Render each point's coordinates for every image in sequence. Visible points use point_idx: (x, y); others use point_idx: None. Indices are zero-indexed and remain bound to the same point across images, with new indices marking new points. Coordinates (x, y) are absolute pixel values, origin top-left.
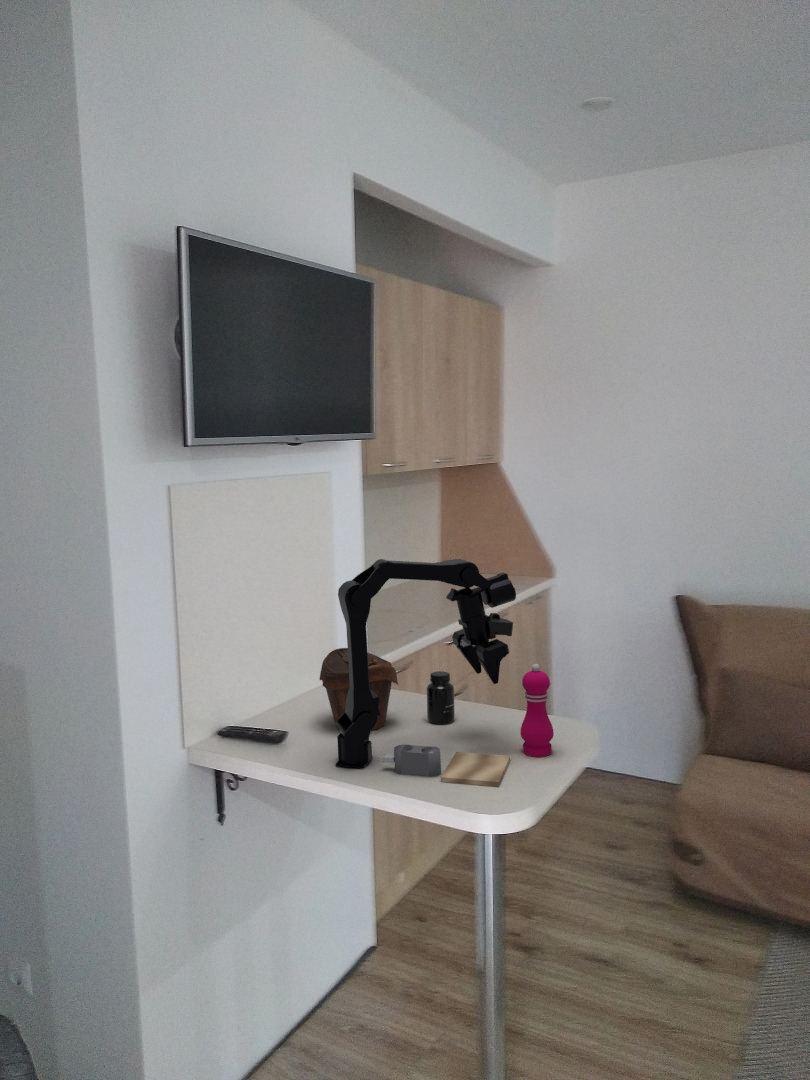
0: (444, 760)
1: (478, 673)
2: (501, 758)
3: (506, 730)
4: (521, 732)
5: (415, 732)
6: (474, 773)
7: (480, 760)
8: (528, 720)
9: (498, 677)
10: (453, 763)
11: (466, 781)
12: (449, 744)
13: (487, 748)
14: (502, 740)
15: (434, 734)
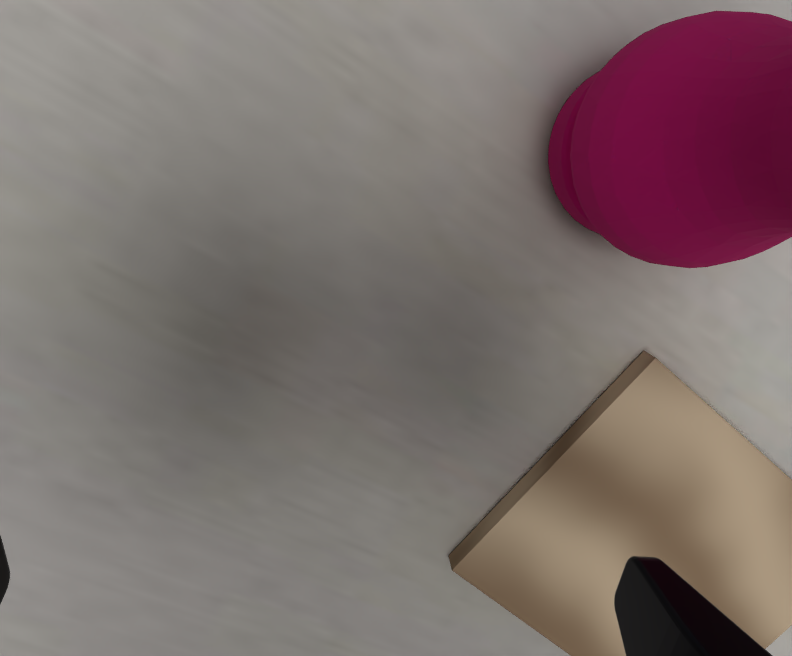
0: (465, 619)
1: (6, 567)
2: (658, 415)
3: (217, 122)
4: (660, 263)
5: (27, 606)
6: (729, 600)
7: (617, 515)
8: (772, 240)
9: (732, 626)
10: (576, 634)
11: None
12: (282, 522)
13: (434, 375)
14: (366, 239)
15: (100, 532)
